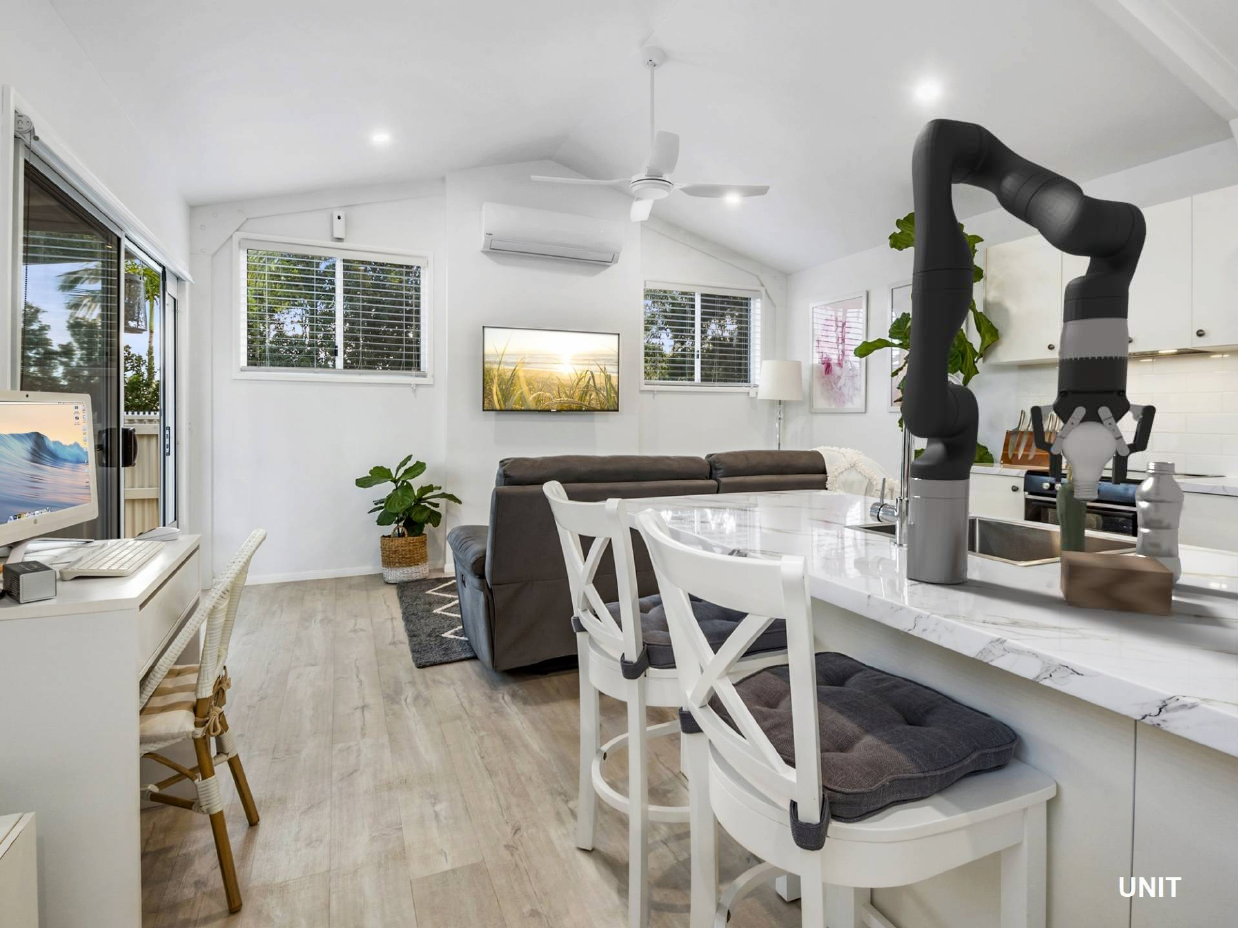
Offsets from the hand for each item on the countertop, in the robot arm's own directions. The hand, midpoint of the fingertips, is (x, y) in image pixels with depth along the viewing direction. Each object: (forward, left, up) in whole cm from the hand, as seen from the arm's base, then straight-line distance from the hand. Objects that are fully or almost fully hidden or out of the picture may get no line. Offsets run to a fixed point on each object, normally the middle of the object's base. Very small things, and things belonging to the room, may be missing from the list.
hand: (1086, 482), depth 92 cm
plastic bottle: (+13, +30, -19) cm, 38 cm away
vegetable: (+1, +30, -19) cm, 35 cm away
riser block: (+5, +14, -19) cm, 24 cm away
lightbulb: (0, 0, -3) cm, 3 cm away
